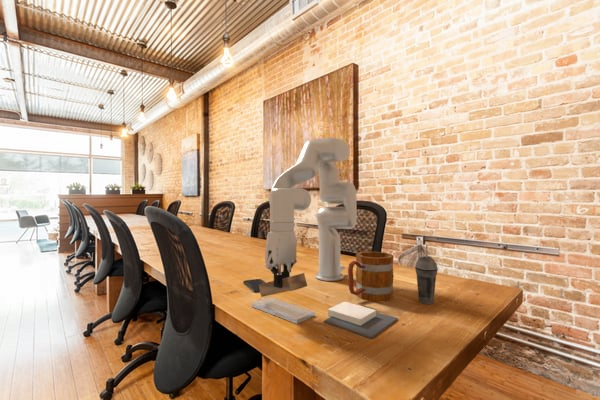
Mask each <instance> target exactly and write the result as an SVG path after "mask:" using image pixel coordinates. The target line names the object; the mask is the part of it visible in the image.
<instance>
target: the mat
mask: <svg viewBox="0 0 600 400" xmlns="http://www.w3.org/2000/svg"><path fill="white" fill-rule="evenodd" d="M398 320H399V318H398V317H397V316H392V315H388V314H385V313H381V312H378V311H376V317H375V318H373V319H371V320H370V321H368V322H367V323H365V324H363V325H362V326H357V325H354V324H351V323H348V322H345V321H342V320H339V319H336V318H333V317H330V316H329V317H328V318H326V319H324V320H323V323H325V324H328V325H330V326H332V327H333V326H334V327H336V328H339V329H342V330H345V331H347V332H351V333H354V334H356V335H359V336H362V337H365V338H368V339H371V340H373V338H375V337H376V336H378V335H379V334H380V333H381V332H383V331H385V329H387V328H388V327H390V326H392V325H393V324H394V323H395V322H397V321H398Z"/></svg>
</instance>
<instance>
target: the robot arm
mask: <svg viewBox="0 0 600 400" xmlns="http://www.w3.org/2000/svg"><path fill="white" fill-rule="evenodd" d="M350 153H351V149H350V146H349V144H348V142H347V141H346V140H344V139H340V138H337V137H324V138H323V137H321V138H312V139H309V140H307V141H306V142H305V143H304V145H303V147H302V149H301V151H300V153H299V156H298V158H297V160H296V162H295V164H294V165H293V166H291V167H290V168H288V169H287V170H285V171H284V172H283V173H281V175H279V176H278V177H277V178H276V180H275V181H274V184H272V188H271V189H270V192H269V196H268V203H269V209H270V210H269V231H268V232H267V236H266V241H265V248H264V249H265V251H264V262H265V269H267V270H269V271H271V274H272V275H273V281H274V287H278V288H282V279H283V278H287V277H291V276H290V275H291V274H290V273H291V272H292V268H293V267H294V265H295V264H296V263H297V262H298V260H297V254H298V253H297V238H296V232H295V227H296V225H295V212H296V211H297V212H300V211H301V212H302V211H305V210H308V208H309V207H310V205H311V202H312V196H311V194H310V192H309V191H308V190H306V189H304V188H302V187H301V188H299V187H297V188H296V187H295V186H298V185H300V184H303V183H305V182H308V181H311V180H312V179H314V178H315V177H316V176H317V174H319V198H320V201H321V202H322V203H323V204H329V205H330V204H333V205H343V206H323V207H321V208H319V209H318V210H317V212H316V222H317V227H318V272H316V273H315V278H316V279H317V280H320V281H325V282H337V281H341V280H343V279H344V278H345V277H344V276H345V275H344V274H343V273H342V271H344V270H346V267H345V265H341V237H340V234H339V232H338V231H337V230H336V229H339V230H340V229H341V230H352V229H354V228H355V227H356V225H357V217H358V216H357V215H358V214H357V190H356V187H355V185H354V183H353V182H351V181H350V182H349V181H340V179H339V177H340V175H339V169H338V167H337V165H335V163H336V162H346V161H347V160H348V159H349V157H350ZM293 187H295V188H293Z"/></svg>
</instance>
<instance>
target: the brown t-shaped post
mask: <svg viewBox="0 0 600 400" xmlns="http://www.w3.org/2000/svg"><path fill="white" fill-rule="evenodd" d="M306 287H308V283H307V279H306V275H305V272H303V273H299V274H295V275H291V276H290V277H287V278H283V279H282V288H278V287H274V280H272V281H266V283H263V284H259V289H260V292H259V294H260V296H261V298H262V297H269V296H273V295H277V294H282V293H287V292H293V291H296V290H297V291H298V290H300V289H302V288H303V289H304V288H306Z"/></svg>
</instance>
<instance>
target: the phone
mask: <svg viewBox="0 0 600 400" xmlns="http://www.w3.org/2000/svg"><path fill="white" fill-rule="evenodd" d="M263 283H267V281H264V280H263V279H261V278H255V279H247V280H243V284H244V285H245V286H246V287H247V288H248V290H250V291H251V292H252V293H256V294H257V293H260V289H259V284H263Z"/></svg>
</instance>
